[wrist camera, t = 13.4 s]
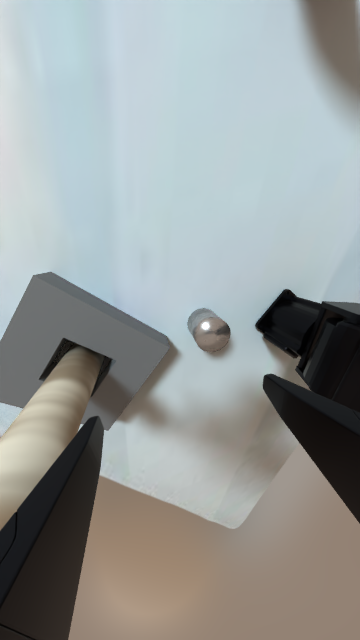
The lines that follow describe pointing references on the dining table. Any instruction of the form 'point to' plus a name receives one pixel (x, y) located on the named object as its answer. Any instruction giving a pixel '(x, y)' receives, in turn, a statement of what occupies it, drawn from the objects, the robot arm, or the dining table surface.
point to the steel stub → (208, 330)
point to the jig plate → (84, 329)
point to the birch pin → (45, 426)
